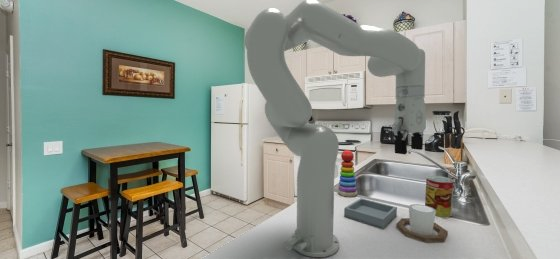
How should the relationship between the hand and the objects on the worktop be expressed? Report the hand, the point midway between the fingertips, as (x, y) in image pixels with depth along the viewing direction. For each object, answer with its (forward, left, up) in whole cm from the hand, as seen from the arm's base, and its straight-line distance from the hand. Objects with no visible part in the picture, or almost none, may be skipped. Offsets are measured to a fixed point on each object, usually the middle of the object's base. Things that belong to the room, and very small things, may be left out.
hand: (408, 151), depth 73 cm
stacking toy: (+15, +27, -23) cm, 39 cm away
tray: (0, +11, -23) cm, 26 cm away
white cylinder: (0, -4, -23) cm, 24 cm away
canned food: (+19, -5, -23) cm, 31 cm away
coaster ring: (0, -4, -23) cm, 24 cm away
